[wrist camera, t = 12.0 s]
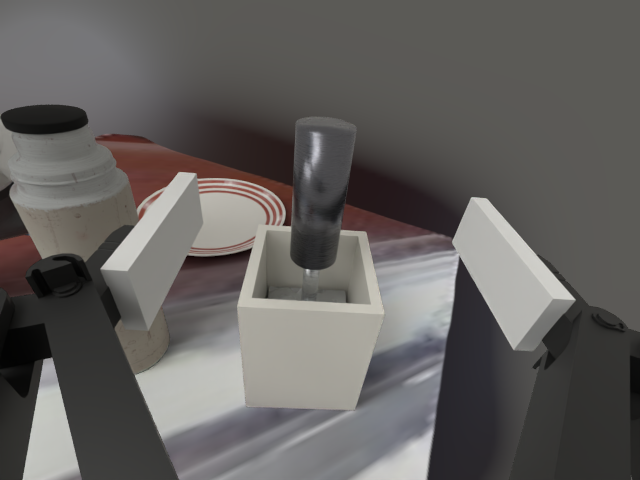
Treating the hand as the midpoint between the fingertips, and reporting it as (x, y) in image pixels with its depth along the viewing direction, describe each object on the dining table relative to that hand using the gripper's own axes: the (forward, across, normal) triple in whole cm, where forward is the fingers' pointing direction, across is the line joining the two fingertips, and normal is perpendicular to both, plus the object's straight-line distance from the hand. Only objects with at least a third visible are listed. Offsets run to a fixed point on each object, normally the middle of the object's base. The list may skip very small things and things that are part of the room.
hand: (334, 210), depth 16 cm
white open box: (+10, 0, -28) cm, 30 cm away
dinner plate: (+40, -18, -29) cm, 52 cm away
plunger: (+10, 0, -21) cm, 23 cm away
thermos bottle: (+10, -21, -28) cm, 37 cm away
